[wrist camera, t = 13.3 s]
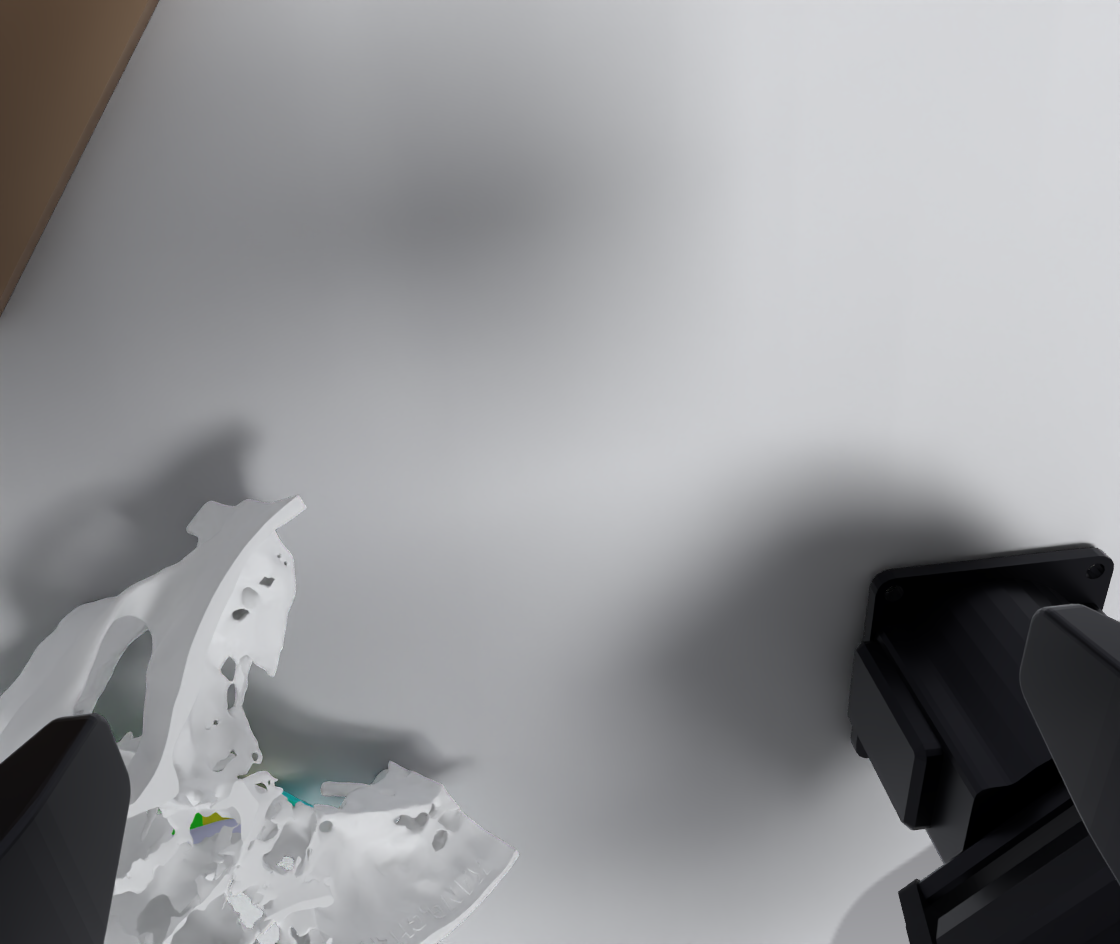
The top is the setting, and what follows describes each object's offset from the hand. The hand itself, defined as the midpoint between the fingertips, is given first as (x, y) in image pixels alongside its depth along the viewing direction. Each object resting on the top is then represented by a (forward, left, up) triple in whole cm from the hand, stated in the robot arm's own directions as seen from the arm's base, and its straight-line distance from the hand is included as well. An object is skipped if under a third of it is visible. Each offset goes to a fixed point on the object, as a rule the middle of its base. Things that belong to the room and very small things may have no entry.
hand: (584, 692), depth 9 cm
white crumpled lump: (+9, +11, -13) cm, 19 cm away
